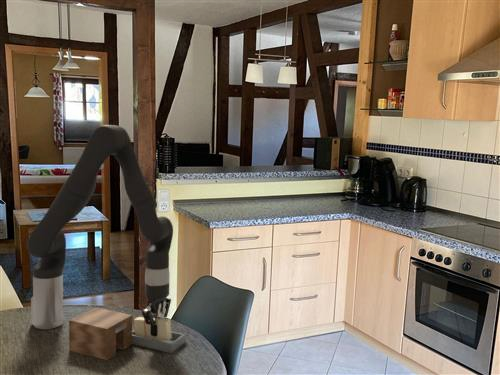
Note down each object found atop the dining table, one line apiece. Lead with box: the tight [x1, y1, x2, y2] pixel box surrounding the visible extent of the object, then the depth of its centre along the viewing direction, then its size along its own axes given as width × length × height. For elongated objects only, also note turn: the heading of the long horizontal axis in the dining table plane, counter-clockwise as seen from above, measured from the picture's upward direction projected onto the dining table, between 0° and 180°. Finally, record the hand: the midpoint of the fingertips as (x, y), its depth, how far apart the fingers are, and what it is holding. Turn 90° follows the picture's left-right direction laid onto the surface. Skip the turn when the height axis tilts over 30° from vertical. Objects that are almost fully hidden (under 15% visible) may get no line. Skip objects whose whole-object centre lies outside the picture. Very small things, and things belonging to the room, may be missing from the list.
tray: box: [131, 329, 186, 354], centre depth 155 cm, size 16×8×3 cm, turn 68°
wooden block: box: [68, 306, 133, 361], centre depth 149 cm, size 15×12×10 cm
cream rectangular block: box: [133, 316, 172, 341], centre depth 155 cm, size 12×3×6 cm, turn 68°
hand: (156, 333), depth 155 cm, fingers closed on cream rectangular block, 2 cm apart
